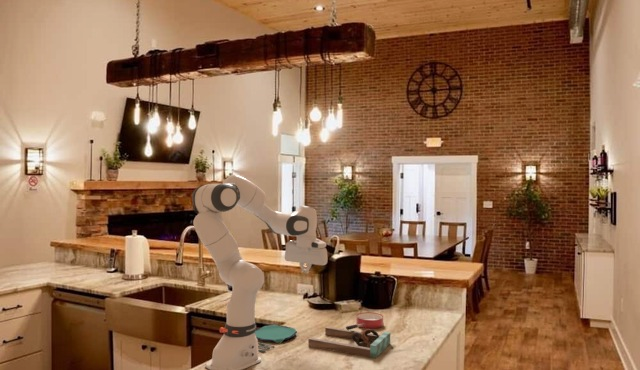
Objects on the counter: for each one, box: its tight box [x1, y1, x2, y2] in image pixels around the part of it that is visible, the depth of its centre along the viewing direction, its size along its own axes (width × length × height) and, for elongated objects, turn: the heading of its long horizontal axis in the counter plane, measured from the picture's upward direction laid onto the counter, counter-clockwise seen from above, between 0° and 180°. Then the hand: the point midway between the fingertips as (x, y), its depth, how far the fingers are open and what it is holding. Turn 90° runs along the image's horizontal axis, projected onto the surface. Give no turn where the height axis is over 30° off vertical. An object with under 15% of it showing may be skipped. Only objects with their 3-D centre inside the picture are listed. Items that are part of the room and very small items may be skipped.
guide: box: [307, 326, 391, 359], centre depth 215 cm, size 19×30×5 cm, turn 64°
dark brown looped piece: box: [351, 328, 380, 348], centre depth 213 cm, size 12×10×8 cm
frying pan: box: [345, 311, 384, 330], centre depth 234 cm, size 32×13×6 cm, turn 157°
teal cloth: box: [255, 324, 298, 353], centre depth 221 cm, size 20×30×2 cm, turn 152°
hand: (305, 273), depth 222 cm, fingers closed
